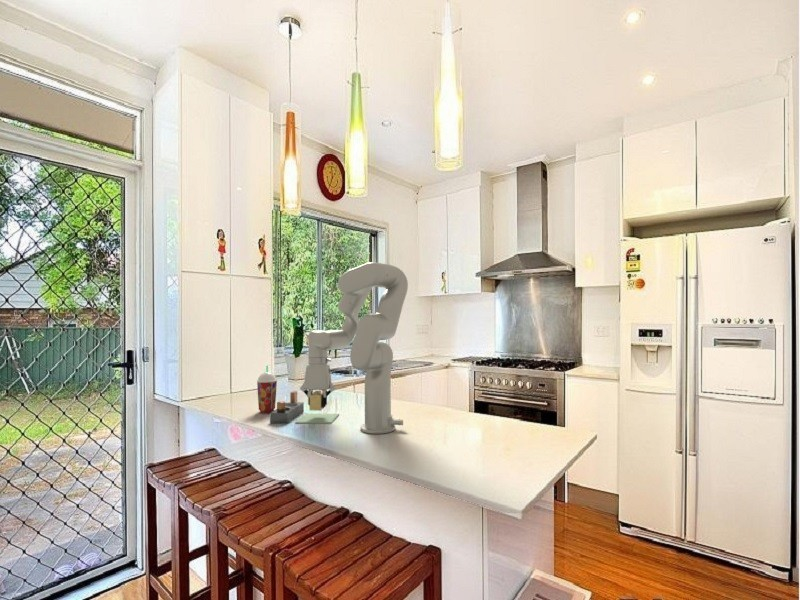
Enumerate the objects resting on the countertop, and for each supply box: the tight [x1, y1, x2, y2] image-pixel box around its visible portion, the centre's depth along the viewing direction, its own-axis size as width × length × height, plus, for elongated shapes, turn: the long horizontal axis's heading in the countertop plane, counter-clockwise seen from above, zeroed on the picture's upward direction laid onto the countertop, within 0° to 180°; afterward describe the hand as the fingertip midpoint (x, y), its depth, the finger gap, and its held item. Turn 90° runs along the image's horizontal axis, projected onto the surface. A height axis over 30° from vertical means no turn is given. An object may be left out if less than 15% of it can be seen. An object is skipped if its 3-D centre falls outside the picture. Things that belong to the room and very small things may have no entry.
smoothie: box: [256, 365, 278, 414], centre depth 177 cm, size 8×8×20 cm
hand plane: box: [269, 390, 305, 425], centre depth 167 cm, size 7×20×9 cm, turn 176°
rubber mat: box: [295, 413, 340, 425], centre depth 163 cm, size 14×14×1 cm
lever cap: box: [309, 390, 324, 412], centre depth 163 cm, size 4×7×7 cm, turn 176°
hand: (317, 406), depth 163 cm, fingers closed on lever cap, 4 cm apart
